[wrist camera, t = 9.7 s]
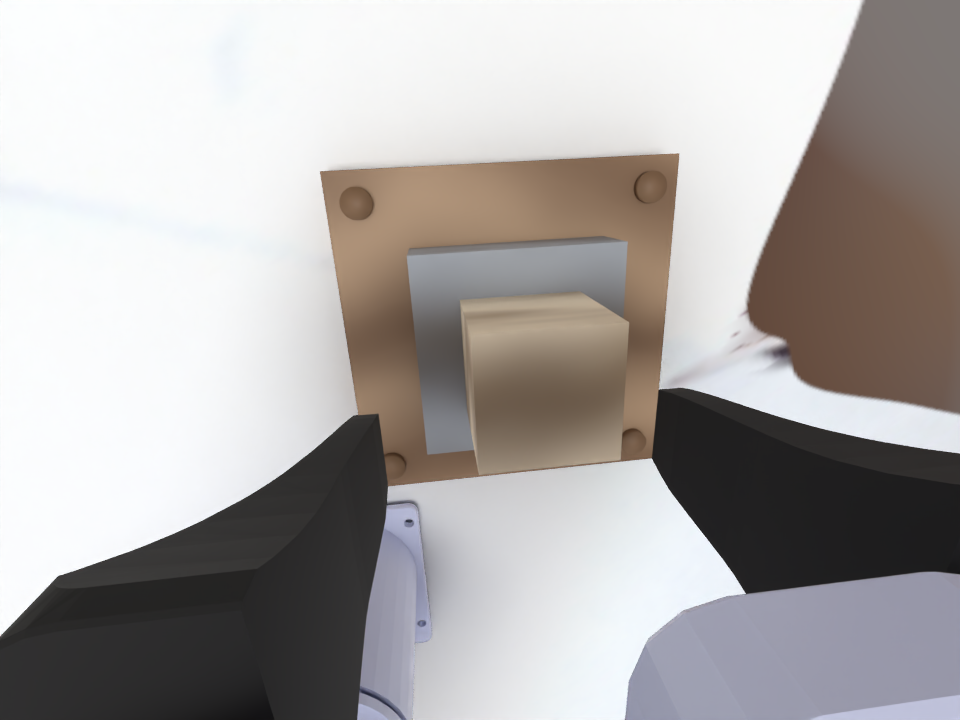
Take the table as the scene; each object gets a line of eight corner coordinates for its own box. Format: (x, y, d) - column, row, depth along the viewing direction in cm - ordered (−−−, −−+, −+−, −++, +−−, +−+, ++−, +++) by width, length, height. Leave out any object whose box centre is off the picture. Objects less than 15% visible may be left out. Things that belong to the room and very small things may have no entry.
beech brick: (577, 400, 19) (620, 460, 15) (467, 410, 18) (479, 475, 14) (579, 291, 17) (629, 322, 13) (459, 300, 17) (470, 334, 13)
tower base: (639, 443, 25) (678, 487, 21) (373, 470, 23) (363, 522, 20) (661, 156, 20) (716, 147, 16) (328, 173, 19) (303, 167, 15)
